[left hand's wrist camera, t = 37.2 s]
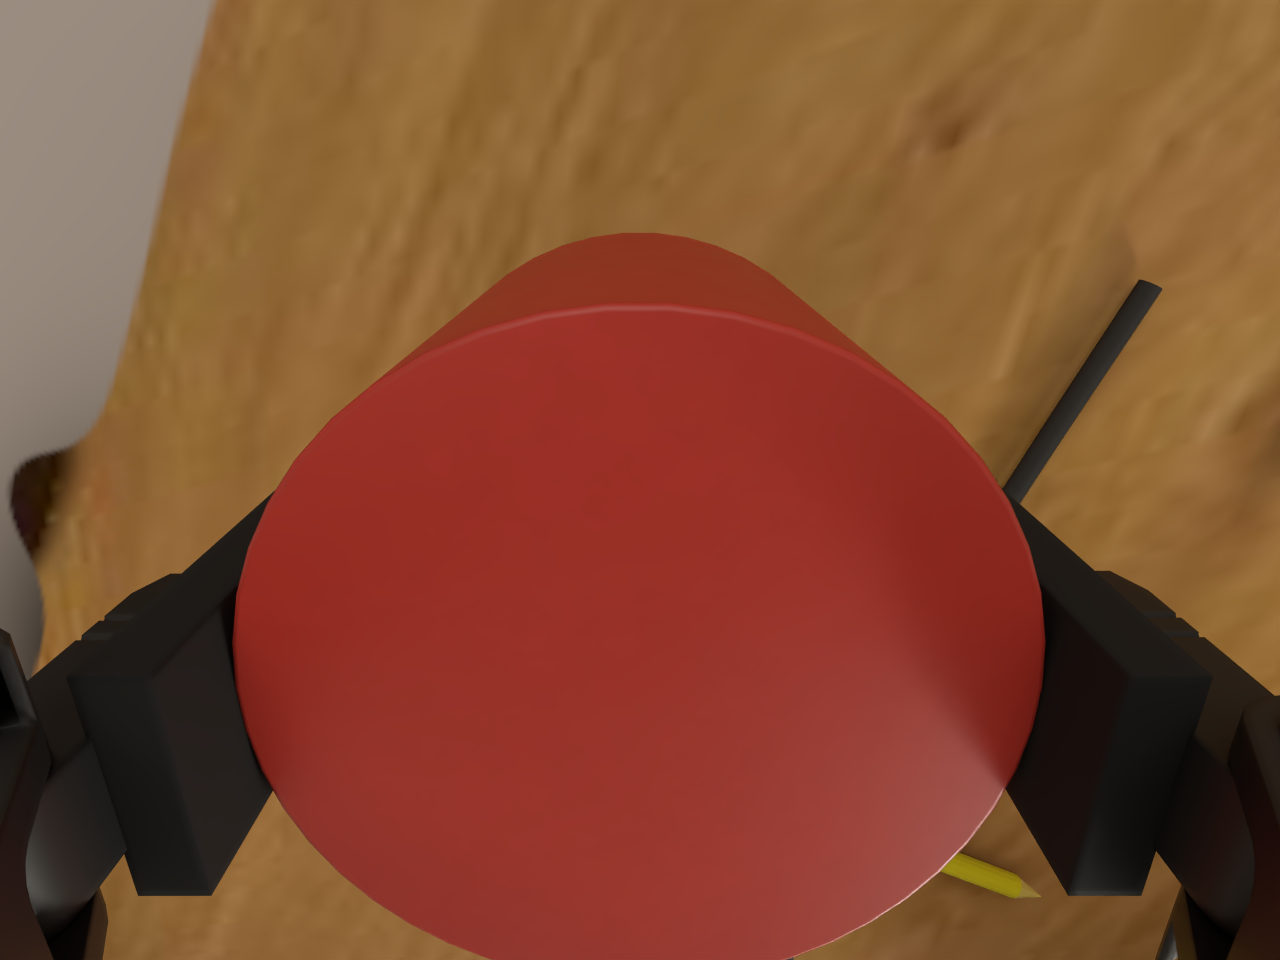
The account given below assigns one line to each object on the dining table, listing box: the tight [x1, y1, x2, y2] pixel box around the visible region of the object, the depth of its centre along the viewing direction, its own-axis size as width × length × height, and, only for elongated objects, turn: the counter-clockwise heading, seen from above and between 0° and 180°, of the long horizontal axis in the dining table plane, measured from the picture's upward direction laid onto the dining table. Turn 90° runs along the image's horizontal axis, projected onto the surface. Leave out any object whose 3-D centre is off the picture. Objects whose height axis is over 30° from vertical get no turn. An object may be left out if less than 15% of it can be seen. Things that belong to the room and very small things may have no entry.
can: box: [232, 233, 1045, 960], centre depth 12 cm, size 9×9×8 cm
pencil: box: [941, 852, 1041, 899], centre depth 32 cm, size 16×1×1 cm, turn 65°
